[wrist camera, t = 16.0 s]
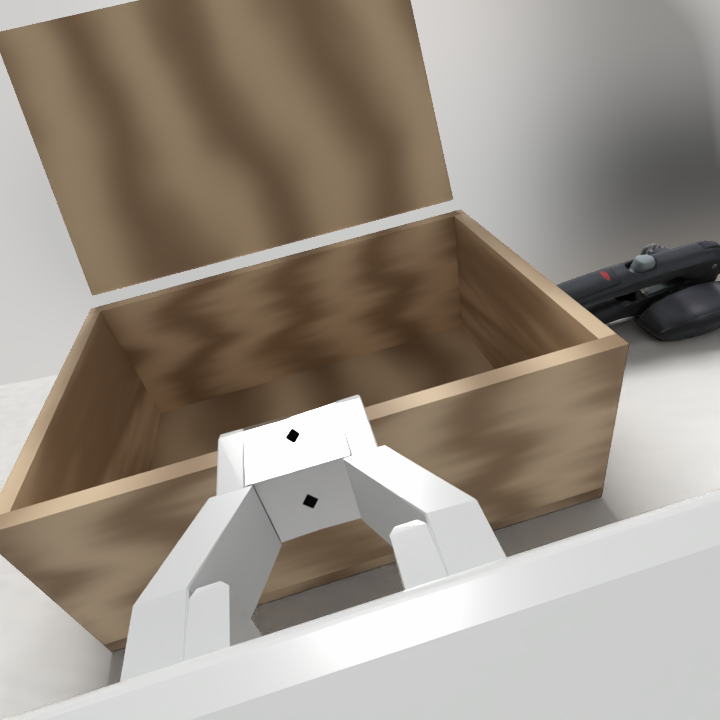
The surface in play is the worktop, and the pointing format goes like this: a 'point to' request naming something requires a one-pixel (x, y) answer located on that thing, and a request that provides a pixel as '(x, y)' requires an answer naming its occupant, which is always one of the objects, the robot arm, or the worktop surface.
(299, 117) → the lid flap
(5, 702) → the worktop surface
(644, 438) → the worktop surface
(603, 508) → the worktop surface
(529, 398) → the wooden box
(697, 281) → the can opener
